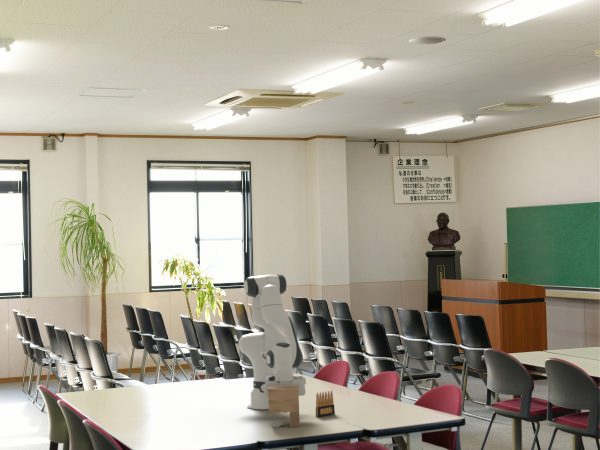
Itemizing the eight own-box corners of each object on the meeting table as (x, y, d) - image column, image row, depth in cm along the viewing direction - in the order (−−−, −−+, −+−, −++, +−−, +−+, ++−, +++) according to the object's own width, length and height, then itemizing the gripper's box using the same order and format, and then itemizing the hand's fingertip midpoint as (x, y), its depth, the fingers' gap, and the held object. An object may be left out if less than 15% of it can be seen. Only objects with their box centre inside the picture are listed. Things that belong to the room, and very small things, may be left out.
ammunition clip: (317, 417, 436) (317, 392, 436) (315, 417, 438) (314, 392, 438) (335, 414, 443) (334, 390, 443) (332, 414, 444) (331, 389, 444)
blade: (283, 406, 444) (283, 397, 445) (287, 405, 445) (287, 397, 445) (283, 412, 423) (282, 404, 423) (287, 412, 423) (287, 404, 423)
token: (271, 426, 421) (271, 423, 421) (282, 425, 421) (282, 423, 421) (271, 428, 416) (271, 425, 416) (282, 427, 416) (282, 425, 416)
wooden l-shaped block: (269, 425, 422) (267, 386, 422) (300, 423, 422) (298, 385, 423) (268, 428, 414) (267, 389, 415) (300, 426, 415) (299, 387, 415)
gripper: (305, 375, 438) (306, 403, 437) (263, 376, 438) (264, 405, 437) (305, 376, 431) (306, 405, 431) (263, 378, 431) (264, 407, 431)
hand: (285, 405), depth 434 cm, fingers closed on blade, 2 cm apart
